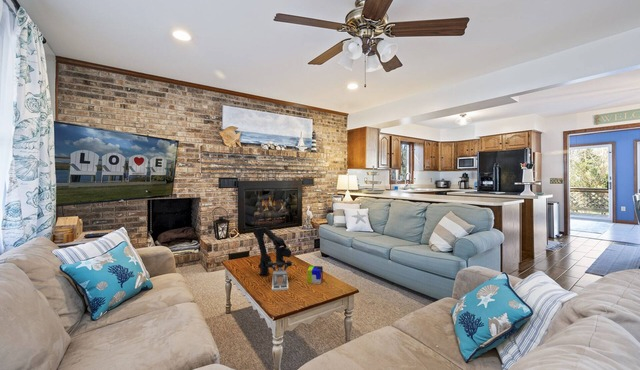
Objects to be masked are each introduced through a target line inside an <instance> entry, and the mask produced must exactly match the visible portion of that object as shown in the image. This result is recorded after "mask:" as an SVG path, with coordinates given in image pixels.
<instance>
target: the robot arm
mask: <svg viewBox="0 0 640 370" xmlns="http://www.w3.org/2000/svg"><path fill="white" fill-rule="evenodd" d="M252 232H253V235H254V237H255V239H256V240H257V245H258V248H259V253H260V259H259V262H260V263H259V264H258V266H257V267H258V269H259V271H260V273H259V276H263V277H266V276H269V275H270V269H269V268H271V269H273V271H277V269H276V268H279V267H281V268H283V270H286V271H287V268H288V267H292V266H293V264H292V260H284V258H291V256H292V251H291V250H290V248H288V247H287V244H286V243H285V240H284V239H283V238H282V237H279V236H277V235H276V234H275V233H274V232H273V231H272V230H270V229H269V227H268V226H265V227H258V228H254V229H253V231H252ZM265 236H266V237H267V238H268V239H270V240H271V241H272V245H274V247H273V249H274V250H275V262H273V261H272V259H271V255H268V252H267V248H266V243H265V239H264V237H265Z"/></svg>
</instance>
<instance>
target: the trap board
mask: <svg viewBox="0 0 640 370" xmlns="http://www.w3.org/2000/svg"><path fill="white" fill-rule="evenodd" d="M276 291H277V292H278V291H289V278H288V275H287V285H286V284H285V275H284V284H280V285H276V276H275V286H273V275H272V278H271V292H276Z"/></svg>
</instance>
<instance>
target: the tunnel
mask: <svg viewBox="0 0 640 370" xmlns="http://www.w3.org/2000/svg"><path fill="white" fill-rule="evenodd" d="M287 274H288V273H287V269H286V270H284V269H281V270H280V271H278V270H276V271H274V270H273V272H272V276H273V286H275V276H280V275H285V284H286V285H287V276H288V275H287Z"/></svg>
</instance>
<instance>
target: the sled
mask: <svg viewBox="0 0 640 370" xmlns="http://www.w3.org/2000/svg"><path fill="white" fill-rule="evenodd" d="M280 270H282V267H279V268H278V269H277V271H280ZM280 284H284V275H280V276H276V285H280Z"/></svg>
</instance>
